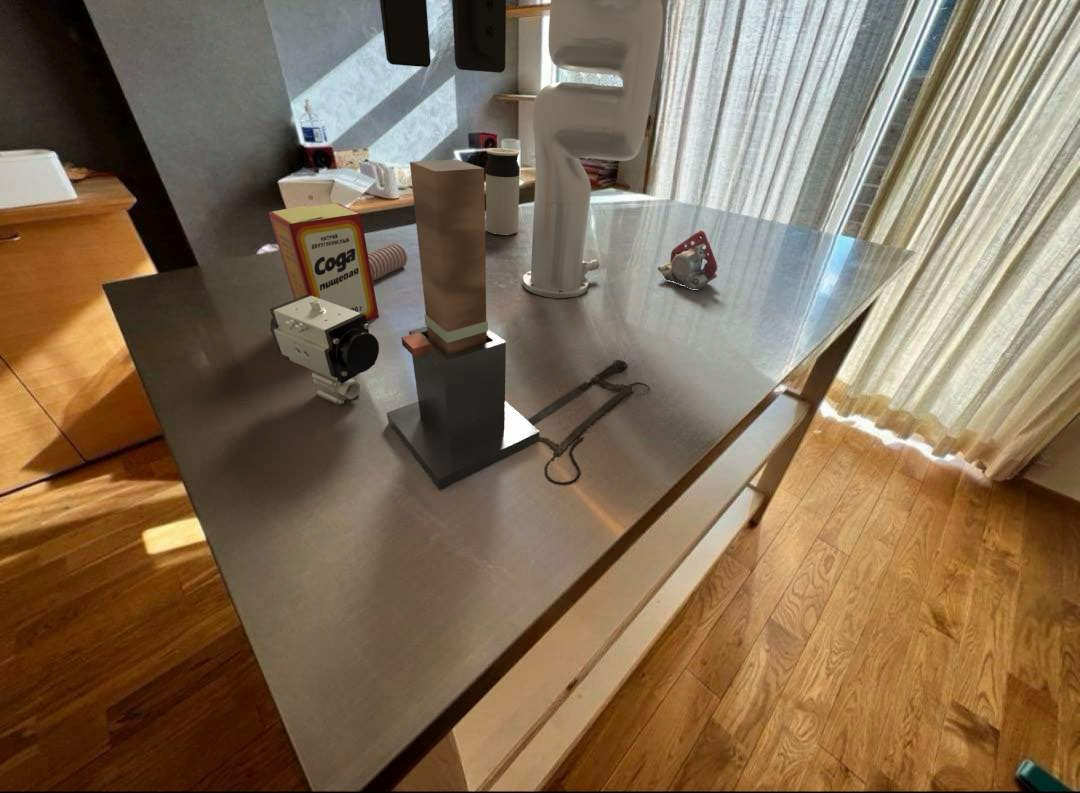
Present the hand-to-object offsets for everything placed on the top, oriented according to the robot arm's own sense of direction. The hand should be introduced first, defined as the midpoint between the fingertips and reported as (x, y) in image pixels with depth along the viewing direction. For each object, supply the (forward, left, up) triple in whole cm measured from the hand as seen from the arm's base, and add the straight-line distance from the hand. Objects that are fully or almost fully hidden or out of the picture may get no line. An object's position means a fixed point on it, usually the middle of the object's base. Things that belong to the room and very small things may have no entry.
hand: (441, 68), depth 29 cm
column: (0, 0, -23) cm, 23 cm away
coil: (-8, -47, -33) cm, 58 cm away
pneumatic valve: (+9, -14, -32) cm, 36 cm away
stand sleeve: (0, 0, -32) cm, 32 cm away
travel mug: (-47, -61, -32) cm, 83 cm away
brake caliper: (-60, -14, -32) cm, 70 cm away
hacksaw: (-15, +6, -33) cm, 36 cm away
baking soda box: (+2, -34, -32) cm, 47 cm away
